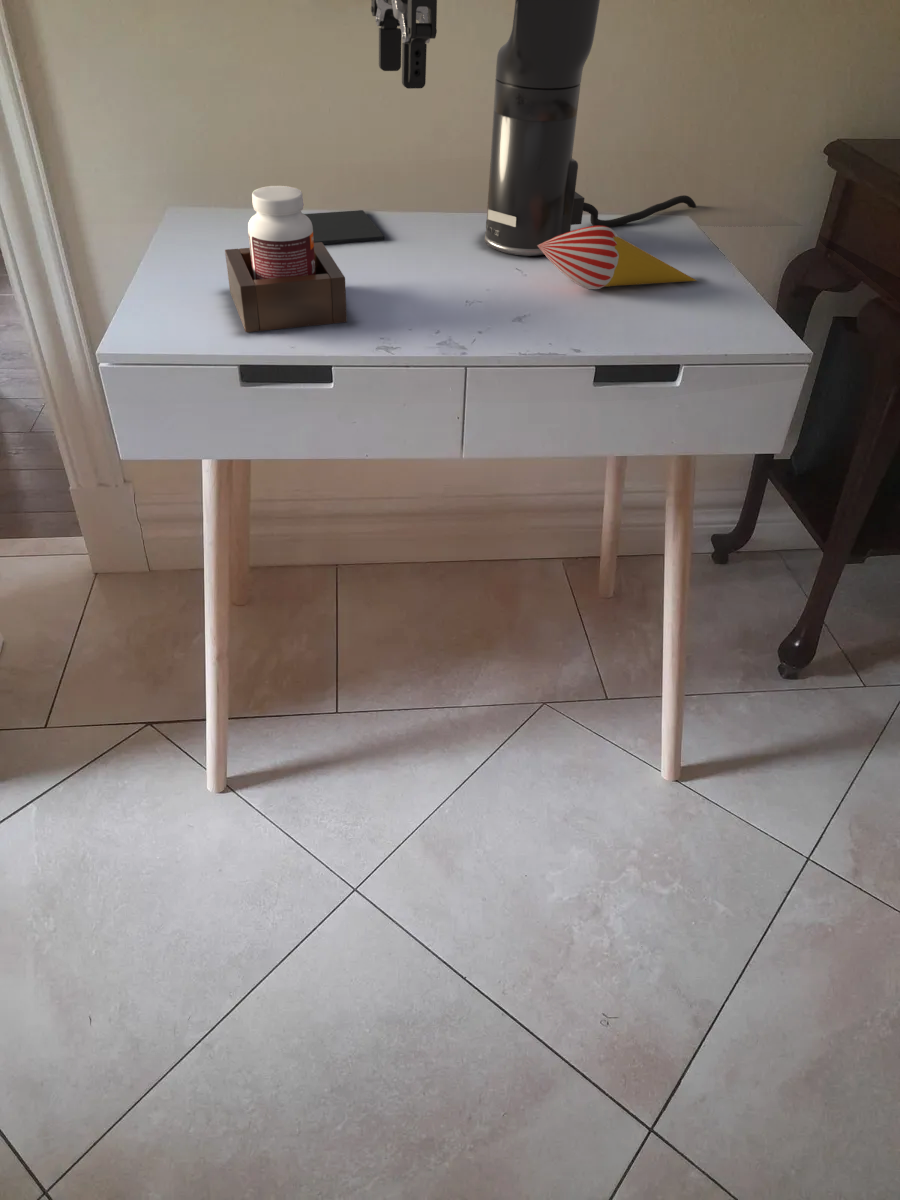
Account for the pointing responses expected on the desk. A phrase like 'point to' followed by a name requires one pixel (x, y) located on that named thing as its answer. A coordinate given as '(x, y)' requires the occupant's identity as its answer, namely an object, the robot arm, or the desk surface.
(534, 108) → the robot arm
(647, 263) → the ice cream cone
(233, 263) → the holder
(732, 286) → the desk surface
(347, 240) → the coaster
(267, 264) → the pill bottle
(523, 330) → the desk surface
